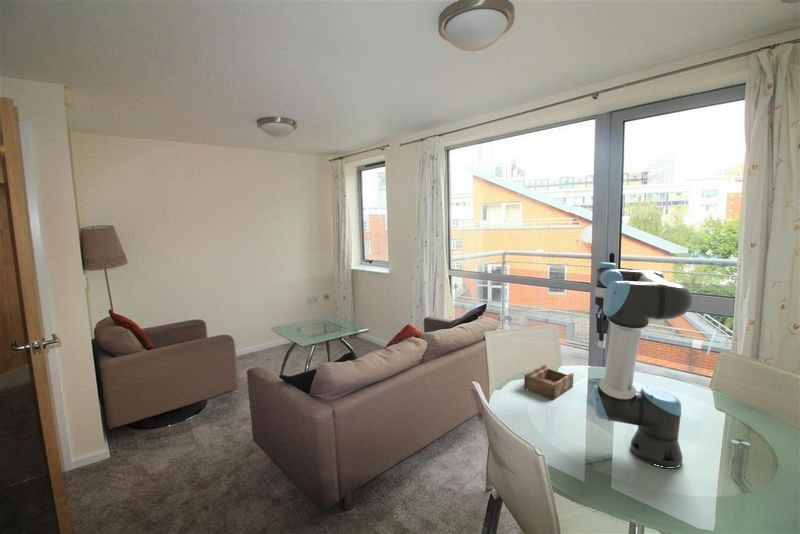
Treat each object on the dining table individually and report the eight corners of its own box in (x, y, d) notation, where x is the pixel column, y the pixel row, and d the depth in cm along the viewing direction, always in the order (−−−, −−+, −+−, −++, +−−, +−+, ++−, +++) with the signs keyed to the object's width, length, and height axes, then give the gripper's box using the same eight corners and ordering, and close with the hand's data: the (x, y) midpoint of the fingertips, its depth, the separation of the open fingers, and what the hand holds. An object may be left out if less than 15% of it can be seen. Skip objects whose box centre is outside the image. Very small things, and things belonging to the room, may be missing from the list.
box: (553, 400, 167) (554, 385, 166) (524, 388, 179) (524, 374, 178) (572, 387, 180) (573, 373, 179) (544, 377, 192) (544, 364, 191)
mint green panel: (570, 386, 182) (570, 379, 181) (546, 378, 191) (546, 372, 190) (583, 377, 193) (584, 370, 192) (560, 369, 202) (561, 363, 202)
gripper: (608, 299, 156) (605, 352, 159) (618, 296, 165) (615, 346, 168) (590, 297, 162) (587, 348, 164) (601, 293, 171) (597, 342, 173)
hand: (601, 347), depth 166 cm, fingers closed
